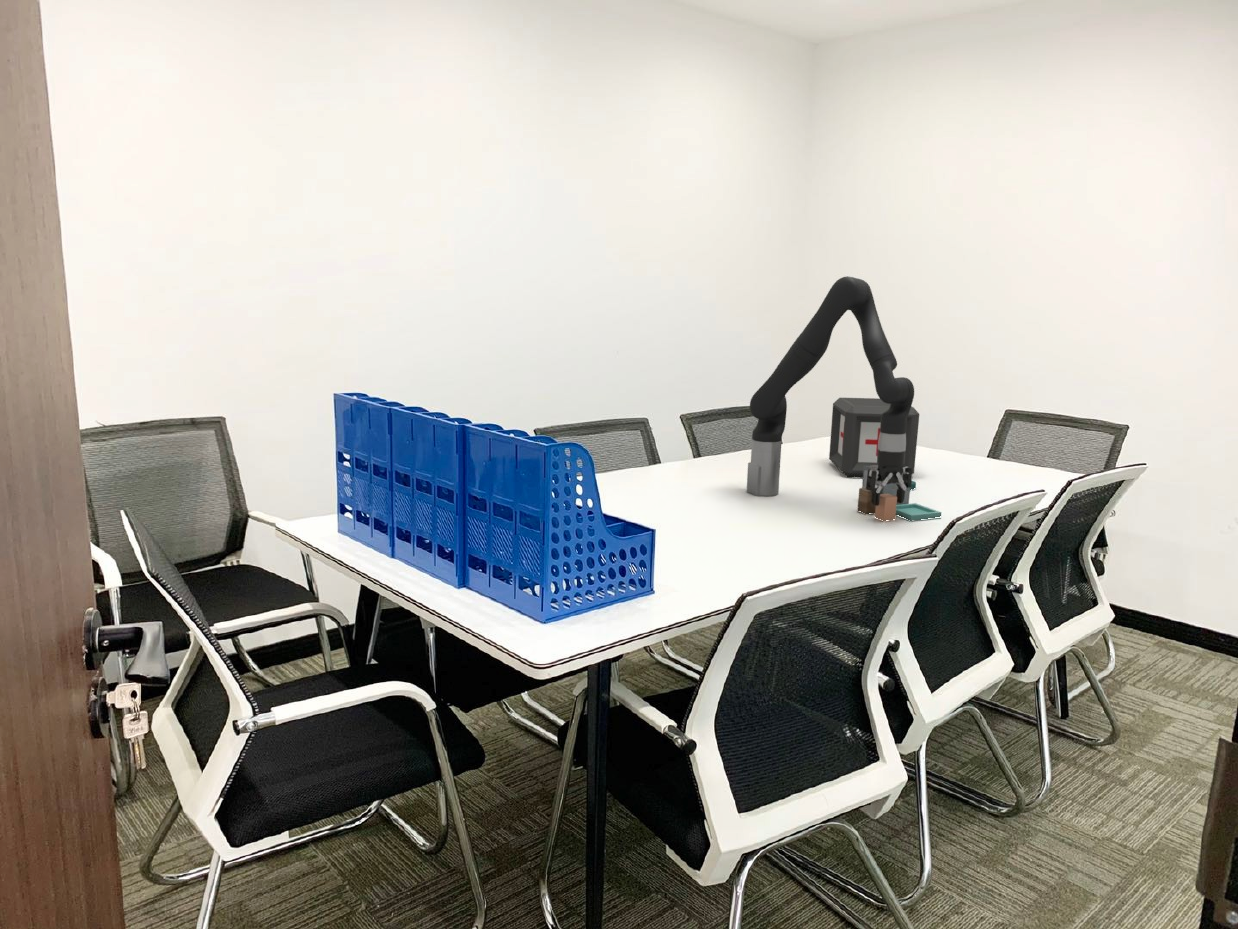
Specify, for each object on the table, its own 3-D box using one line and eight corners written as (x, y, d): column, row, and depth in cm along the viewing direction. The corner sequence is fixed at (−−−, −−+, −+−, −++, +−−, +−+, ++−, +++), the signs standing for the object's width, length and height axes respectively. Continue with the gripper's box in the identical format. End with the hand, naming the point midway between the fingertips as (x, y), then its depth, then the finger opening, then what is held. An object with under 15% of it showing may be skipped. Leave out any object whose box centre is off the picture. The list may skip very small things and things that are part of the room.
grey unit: (880, 508, 272) (883, 473, 270) (859, 500, 281) (862, 466, 279) (910, 505, 276) (913, 470, 274) (888, 498, 285) (891, 464, 283)
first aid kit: (915, 480, 311) (922, 408, 306) (842, 478, 311) (847, 406, 306) (895, 465, 335) (901, 398, 330) (827, 463, 336) (832, 396, 330)
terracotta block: (883, 521, 258) (885, 497, 256) (874, 518, 261) (876, 494, 260) (895, 520, 259) (897, 496, 258) (885, 517, 263) (888, 493, 262)
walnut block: (865, 514, 265) (867, 491, 264) (857, 511, 269) (859, 488, 267) (877, 513, 267) (879, 490, 265) (868, 510, 270) (870, 487, 269)
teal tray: (910, 521, 258) (911, 515, 258) (885, 511, 268) (886, 506, 268) (940, 518, 263) (941, 512, 262) (914, 508, 273) (915, 503, 272)
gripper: (902, 444, 262) (898, 498, 266) (862, 447, 257) (859, 503, 260) (920, 449, 255) (916, 504, 259) (880, 452, 250) (875, 509, 253)
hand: (887, 503), depth 259 cm, fingers open, 8 cm apart
